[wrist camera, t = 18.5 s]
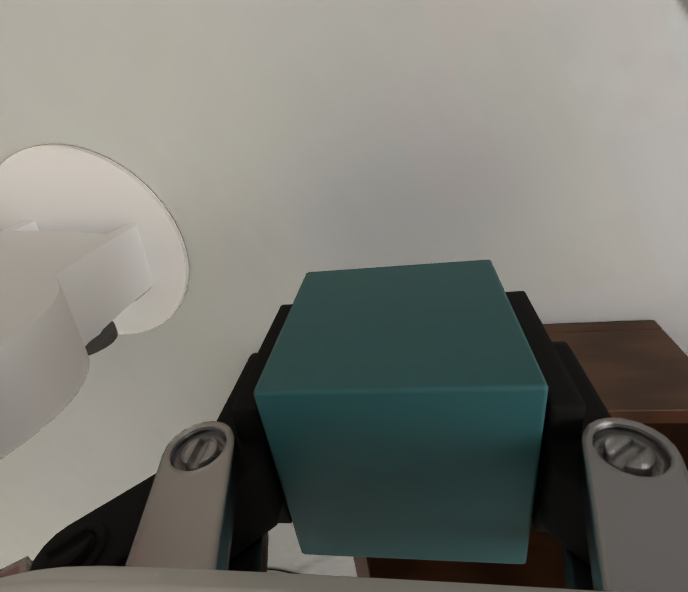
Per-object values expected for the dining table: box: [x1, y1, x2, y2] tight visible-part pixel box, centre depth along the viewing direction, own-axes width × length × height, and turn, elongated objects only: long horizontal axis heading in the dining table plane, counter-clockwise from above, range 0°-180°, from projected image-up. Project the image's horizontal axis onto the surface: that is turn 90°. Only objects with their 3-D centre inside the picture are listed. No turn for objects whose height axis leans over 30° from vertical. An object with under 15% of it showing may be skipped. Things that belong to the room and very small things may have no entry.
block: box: [254, 260, 548, 564], centre depth 9 cm, size 4×4×4 cm
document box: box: [353, 320, 688, 589], centre depth 24 cm, size 17×15×6 cm
